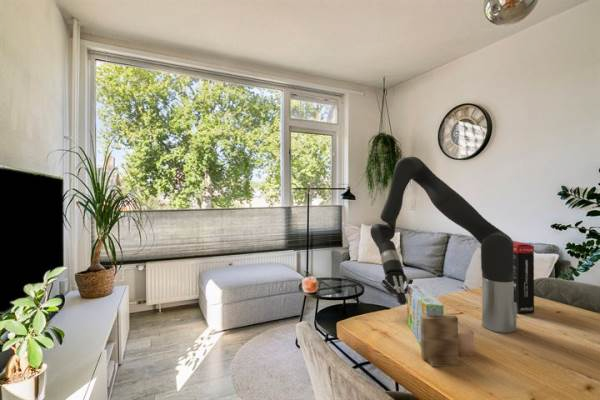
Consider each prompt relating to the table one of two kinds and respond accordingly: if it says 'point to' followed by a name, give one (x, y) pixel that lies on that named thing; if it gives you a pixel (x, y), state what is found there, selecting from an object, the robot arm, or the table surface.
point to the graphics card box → (523, 277)
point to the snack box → (421, 307)
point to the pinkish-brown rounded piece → (465, 341)
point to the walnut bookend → (440, 340)
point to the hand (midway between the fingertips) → (403, 303)
